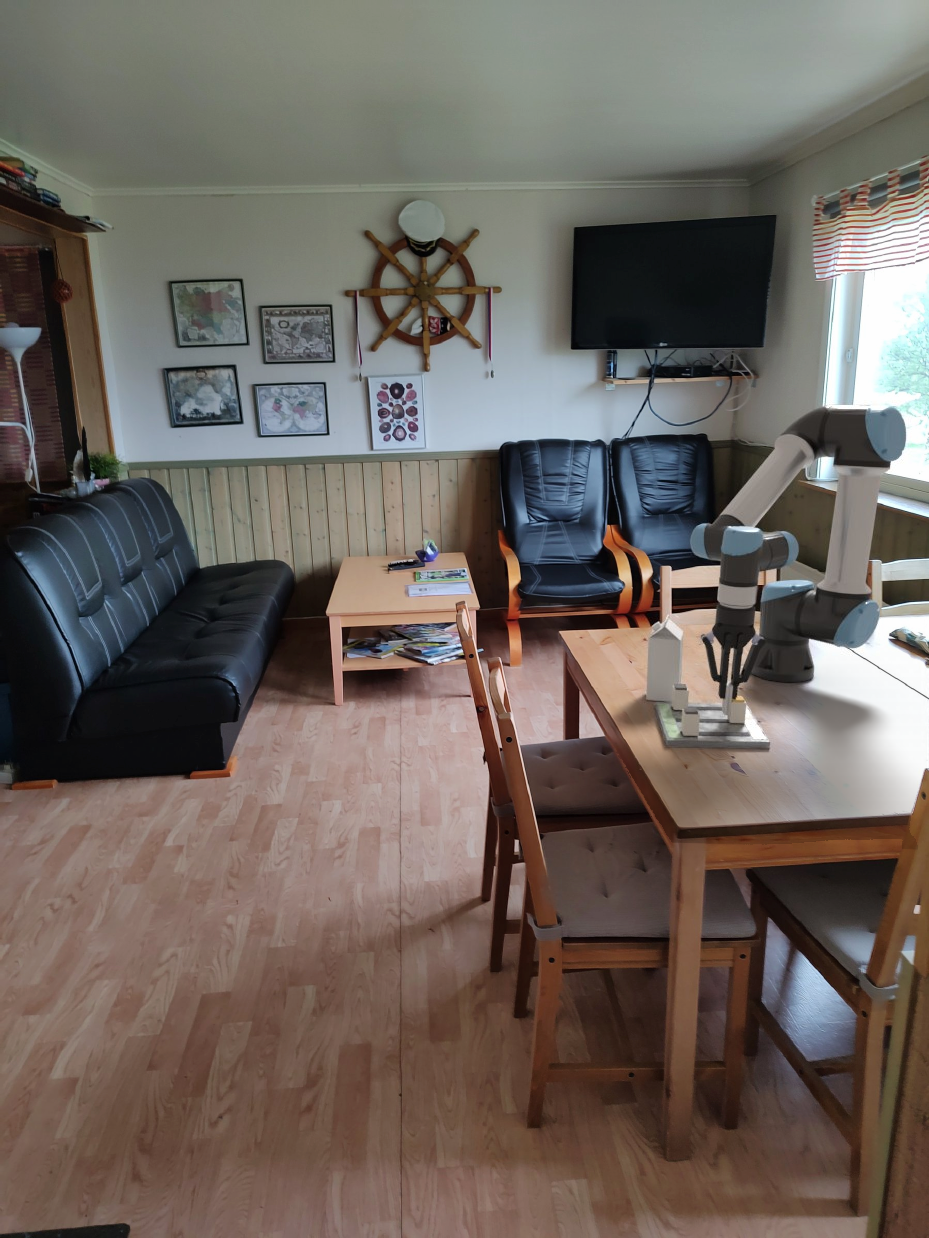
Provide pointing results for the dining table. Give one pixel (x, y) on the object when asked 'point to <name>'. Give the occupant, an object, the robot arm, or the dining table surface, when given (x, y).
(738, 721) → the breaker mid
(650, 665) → the milk carton
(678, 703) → the block
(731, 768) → the dining table surface
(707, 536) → the robot arm
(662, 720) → the panel
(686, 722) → the block
